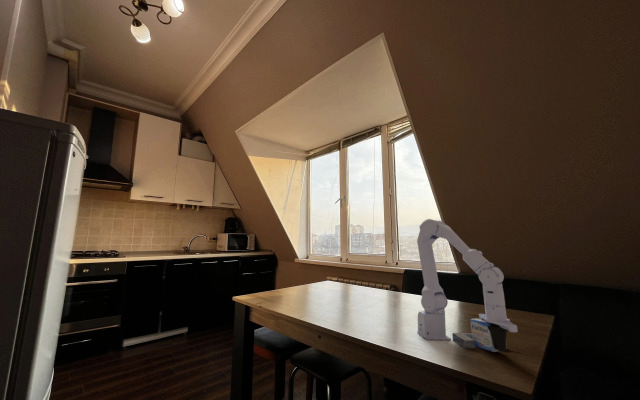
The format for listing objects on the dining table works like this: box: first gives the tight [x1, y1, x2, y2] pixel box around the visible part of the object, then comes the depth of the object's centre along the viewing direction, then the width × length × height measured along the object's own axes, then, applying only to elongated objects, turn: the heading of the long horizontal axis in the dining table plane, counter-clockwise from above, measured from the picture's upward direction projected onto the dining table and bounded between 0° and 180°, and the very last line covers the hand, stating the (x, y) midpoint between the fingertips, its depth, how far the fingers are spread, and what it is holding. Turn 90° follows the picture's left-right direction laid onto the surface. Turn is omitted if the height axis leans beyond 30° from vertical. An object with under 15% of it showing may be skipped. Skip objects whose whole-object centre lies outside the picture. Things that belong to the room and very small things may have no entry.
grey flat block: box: [452, 332, 508, 350], centre depth 92 cm, size 15×7×2 cm, turn 93°
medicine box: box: [469, 318, 499, 353], centre depth 89 cm, size 8×4×9 cm, turn 16°
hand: (499, 349), depth 83 cm, fingers closed, pressing on medicine box
